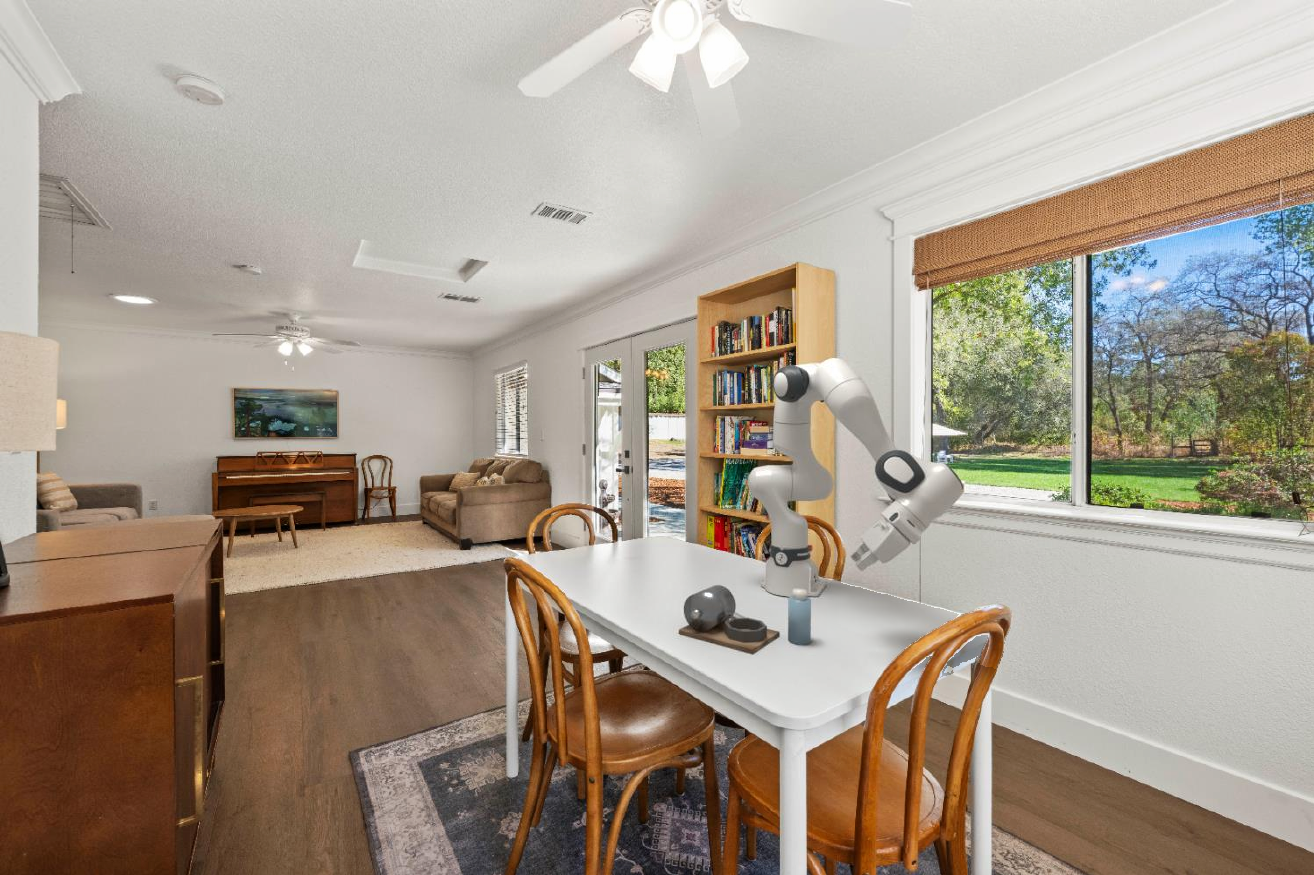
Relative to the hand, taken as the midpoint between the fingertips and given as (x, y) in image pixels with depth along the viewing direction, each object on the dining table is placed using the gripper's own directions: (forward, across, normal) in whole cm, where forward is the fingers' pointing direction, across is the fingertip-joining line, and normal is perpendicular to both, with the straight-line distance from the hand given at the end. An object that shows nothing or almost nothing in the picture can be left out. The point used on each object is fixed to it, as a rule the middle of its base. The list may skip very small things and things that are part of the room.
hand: (855, 563), depth 128 cm
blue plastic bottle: (+22, -1, +5) cm, 23 cm away
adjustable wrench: (+36, -16, -9) cm, 40 cm away
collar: (+31, +1, -4) cm, 31 cm away
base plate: (+34, 0, -7) cm, 35 cm away
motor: (+37, -2, -12) cm, 39 cm away
